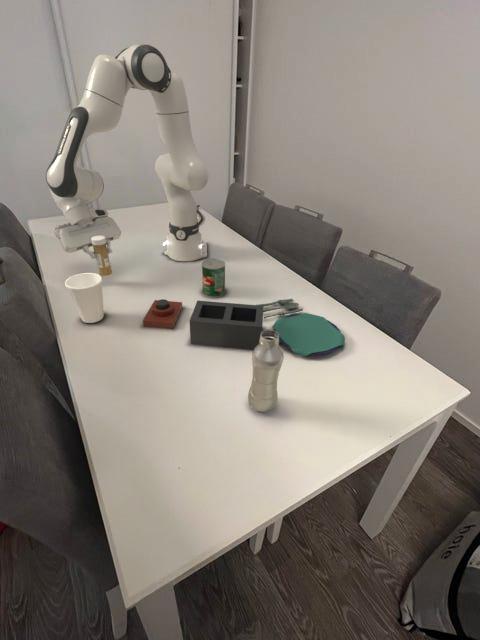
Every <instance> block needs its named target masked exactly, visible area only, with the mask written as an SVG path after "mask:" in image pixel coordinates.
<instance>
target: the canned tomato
mask: <svg viewBox="0 0 480 640" xmlns="http://www.w3.org/2000/svg"><path fill="white" fill-rule="evenodd" d="M201 273H202V274H201V278H202V294H203V296H205V297H208V298H220V297H223V296H224V295H225V293H226V288H225V287H226V263H225V261H224V260H222V259H219V258H208V259H205V260H203V261H202V262H201Z"/></svg>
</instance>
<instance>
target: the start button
mask: <svg viewBox="0 0 480 640" xmlns="http://www.w3.org/2000/svg"><path fill="white" fill-rule="evenodd" d="M157 300H158V301H157V302H156V305H157V309H159V310H164V309H167V308H169V304H168V301H169V300H167V299H164V298H163V299H162V298H161V299H157Z"/></svg>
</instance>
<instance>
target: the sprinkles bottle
mask: <svg viewBox="0 0 480 640" xmlns="http://www.w3.org/2000/svg"><path fill="white" fill-rule="evenodd" d="M91 242H92V245H93V246H92V248H93V252H95V253H96V254H97V258H95V262H96V266H97V270H98V275H100V276H101V277H108V276H110V275H112V274H113V270H112V266H111V261H110V254H108V251H107V245H106V239H105V237H104V236H100V235H99V236H94V237H92V238H91Z"/></svg>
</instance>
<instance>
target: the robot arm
mask: <svg viewBox="0 0 480 640" xmlns="http://www.w3.org/2000/svg"><path fill="white" fill-rule="evenodd" d="M130 89H135V90H140V91H149V93H150V94H151V96H152V98H153V99H152V100H153V102H154V105H155V106H154V107H155V108H154V109H155V115H156V121H157V125H158V126H157V127H158V133H159V137H160V141H161V142H162V143H163V145H164V146H165V148H166V150H167V152H168V153H163V154H160V155H159V156H158V157H157V158H156V160H155V163H154V170H155V171H154V172H155V173H156V176H157V177H158V178H159V180H160V182H161V184H162V187H163V190H164V193H165V197H166V201H167V206H168V213H169V214H168V215H169V223H168V229H169V233H168V234H167V235H166V241H164V242H163V243H162V246H166V249H165V250H164V251H163V255H165V256H168V258H170V260H174V261H177V262H192V261H198V260H200V259H204V258H207V257H208V245H207V242H206V241H204V240H203V241H202V237H203V236H202V233H201V231H200V224H201V223H202V221H203V214H201V212H200V211H198V208H200V207H201V206H200V204H198V205H197V201H196V199H195V198H194V195H193V194H192V192H197V191H201V190H203V189H204V188H205V187H206V186H207V184H208V181H209V171H208V167H207V166H206V165H205V164H204V163H203V161H202V159H201V158H200V155H199V153H198V150H197V147H196V145H195V141H194V138H193V134H192V133H193V132H192V126H191V118H190V111H189V110H190V109H189V104H188V98H187V92H186V88H185V85H184V81H183V79H182V77H181V75H179V74H178V73H177V72H174V71H171V69H170V67H169V65H168V63H167V60H166V59H165V56H164V55H163V54H162V52H161V51H160V50H159V49H158V48H157V47H154V46H153V45H150V44H133V45H131V46H130V47H125V48H123V49H122V50H121V51H120V52H119V53H118V54H117V55H116V56H115V57H114V56H112V55H109V54H99V55H97V56H96V57H95V58H94V60H93V63H92V64H91V68H90V70H89V73H88V76H87V79H86V83H85V87H84V92H83V95H82V97H81V100H80V102H79V103H78V105H77V106H76V107H74V108H73V109H72V110H71V112H70V113H69V115H68V116H67V120H66V122H65V124H64V127H63V131H62V133H61V136H60V139H59V142H58V145H57V148H56V151H55V153H54V156H53V158H52V160H51V162H50V163H49V165H48V167H47V169H46V171H45V181H46V184H47V186H48V190H49V192H50V195H51V197H52V199H53V201H54V203H55V204H56V207H58V209H59V210H60V211H61V212H62V214H63V218H64V219H65V221H66V223H63V224H60V225H56V226H55V227H54V229H53V233H54V236H55V237H56V238H57V239H58V240H59V242H60V245H61V248H62V249H63V251H64V252H66V253H67V254H70V253H73V252H78V251H81V250H82V251H83V252H84V253H85V254H86V255H89V256H90V258H91V259H92V260H96V258H97V254H96V253H95V252H94V251H91V249H89V248H91V247H92V248H93V245H92V242H91V238H92V237H94V236H99V235H100V236H104V237H105V239H106V247H107V251H108V255H111V254H112V253H113V250H112V247H111V242H112V241H116V240H119V239H120V237H121V236H122V230H121V229H120V227H119V225H118V224H117V222H116V221H115V220H114V219H113V217H112V216H109V212H108V210H107V209H99V208H93V207H92V208H91V207H90V206H89V204H91V203H93V202H95V201H96V200H97V199H99V198H100V197H101V196H102V194H103V193H104V189H105V185H104V180H103V178H102V176H101V174H100V173H99V172H98V171H96V170H93V169H90V168H87V167H82V166H79V165H77V163H78V161H79V158H80V155H81V152H82V149H83V147H84V144H85V141H86V140H87V139H88V138H89V137H90V136H92V135H94V134H97V133H105V132H109V131H111V130H113V129H115V128H116V127H117V126H118V124H119V123H120V120H121V116H122V113H123V110H124V109H123V108H124V106H125V105H124V104H125V100H126V96H127V94H128V92H129V91H130ZM198 215H199V217H200V220H199V219H198Z"/></svg>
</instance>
